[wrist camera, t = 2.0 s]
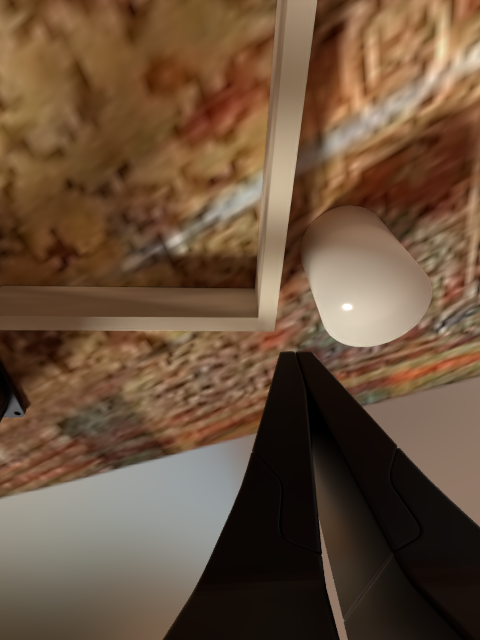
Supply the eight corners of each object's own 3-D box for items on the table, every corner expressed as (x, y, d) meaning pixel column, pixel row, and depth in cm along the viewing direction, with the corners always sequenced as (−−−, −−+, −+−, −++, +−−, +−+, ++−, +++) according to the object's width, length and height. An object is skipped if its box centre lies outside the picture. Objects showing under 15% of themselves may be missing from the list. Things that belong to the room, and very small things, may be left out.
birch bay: (268, 301, 24) (274, 331, 21) (7, 299, 23) (-17, 329, 20) (359, -517, 9) (411, -723, 6) (-401, -623, 8) (-677, -914, 5)
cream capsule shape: (372, 282, 23) (410, 346, 18) (294, 281, 23) (313, 346, 18) (396, 206, 20) (450, 260, 15) (306, 204, 20) (333, 258, 15)
